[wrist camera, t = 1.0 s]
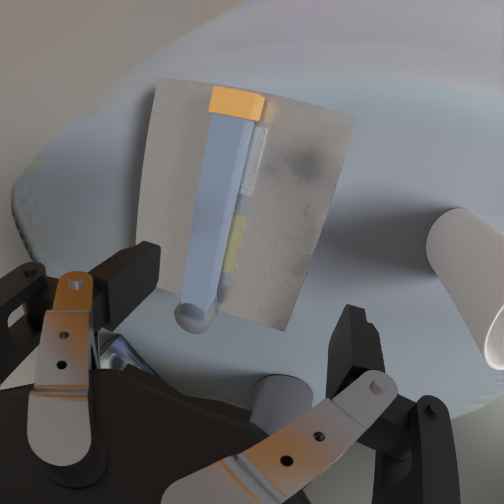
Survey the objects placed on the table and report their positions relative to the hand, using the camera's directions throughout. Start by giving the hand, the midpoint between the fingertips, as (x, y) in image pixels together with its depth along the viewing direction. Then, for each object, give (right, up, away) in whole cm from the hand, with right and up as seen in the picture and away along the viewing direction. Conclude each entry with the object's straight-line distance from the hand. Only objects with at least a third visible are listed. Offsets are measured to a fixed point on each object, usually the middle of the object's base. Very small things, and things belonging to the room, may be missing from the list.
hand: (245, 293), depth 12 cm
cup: (+23, +3, +15) cm, 28 cm away
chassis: (-1, +7, +19) cm, 21 cm away
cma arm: (-3, +5, +14) cm, 15 cm away
